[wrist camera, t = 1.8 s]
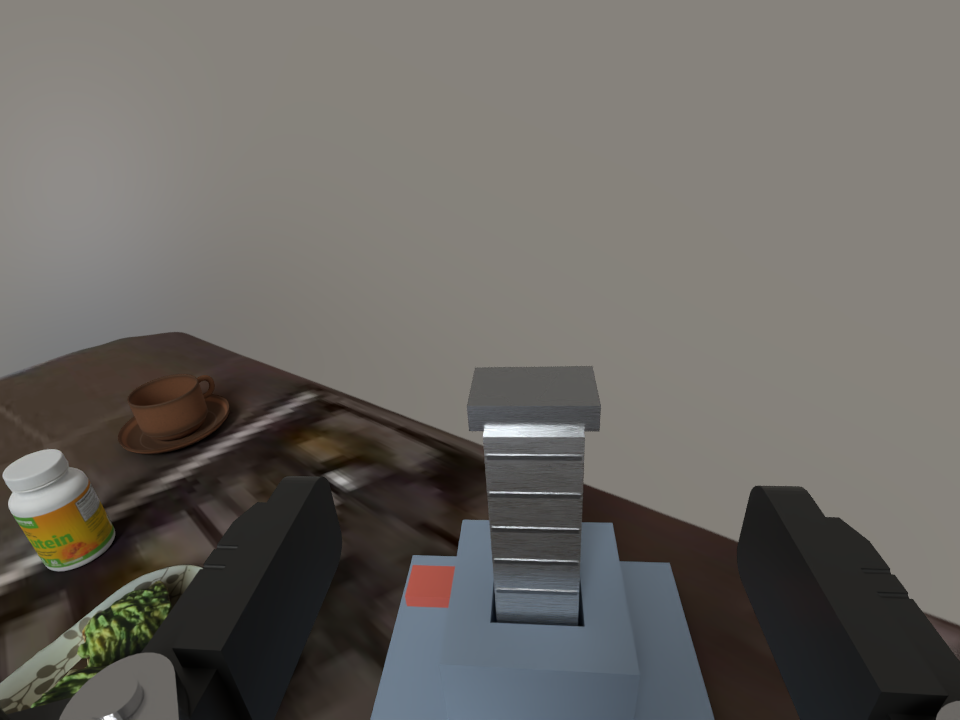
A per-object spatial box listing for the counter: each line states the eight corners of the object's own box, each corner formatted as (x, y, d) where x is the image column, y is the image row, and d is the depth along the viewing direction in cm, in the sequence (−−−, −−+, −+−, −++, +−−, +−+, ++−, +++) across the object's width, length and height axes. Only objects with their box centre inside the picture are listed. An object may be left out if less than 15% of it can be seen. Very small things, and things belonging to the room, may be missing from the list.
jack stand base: (667, 576, 40) (684, 464, 35) (773, 962, 22) (839, 849, 17) (415, 568, 42) (396, 461, 37) (329, 913, 24) (271, 800, 19)
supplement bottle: (31, 578, 44) (-28, 490, 39) (67, 531, 48) (18, 448, 44) (98, 568, 44) (47, 480, 40) (127, 522, 49) (85, 439, 45)
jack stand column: (579, 655, 33) (591, 361, 23) (585, 725, 29) (601, 412, 19) (498, 651, 33) (476, 363, 24) (493, 719, 30) (465, 412, 20)
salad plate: (9, 1034, 22) (-49, 1001, 20) (-126, 798, 30) (-177, 756, 28) (329, 648, 37) (316, 605, 35) (180, 560, 45) (161, 520, 43)
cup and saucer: (165, 406, 69) (149, 365, 66) (250, 405, 67) (237, 364, 64) (99, 463, 58) (76, 418, 55) (199, 464, 57) (180, 417, 54)
